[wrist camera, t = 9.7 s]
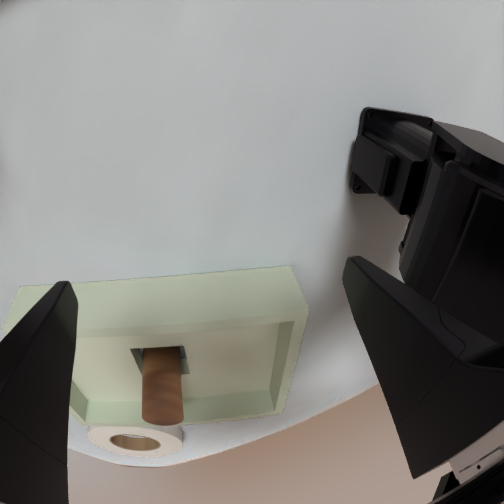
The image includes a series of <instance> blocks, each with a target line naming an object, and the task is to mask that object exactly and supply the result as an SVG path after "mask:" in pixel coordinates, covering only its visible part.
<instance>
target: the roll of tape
mask: <svg viewBox="0 0 504 504" xmlns="http://www.w3.org/2000/svg"><path fill="white" fill-rule="evenodd" d="M123 435H137V436H143V437H147V438H131V437H126V436H123ZM88 438H89V440H90V441H91V442H93V443H94V444H95V445H97V446H99V447H101V448H103V449H105V450H108V451H111V452H114V453H118V454H122V455H127V456H135V457H160V456H166V455H170V454H173V453H175V452H177V451H179V450H180V449H181V448H182V447H183V439H182V430H181V428H180V426H179V425H177V426H150V427H115V426H90V425H88Z"/></svg>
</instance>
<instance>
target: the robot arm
mask: <svg viewBox="0 0 504 504" xmlns="http://www.w3.org/2000/svg"><path fill="white" fill-rule="evenodd" d="M369 112H371V116H370V117H368V113H369ZM428 122H429V125H428ZM352 170H353V171H352V177H351V182H350V189H351V190H352V191H353V192H354V193H357V194H365V193H377V194H378V195H379V196H380V197H383V198H384V199H385V200H386V201H387V202H388V203H389V204H390V205H391V206H392V207H393V208H394V209H395V210H396V211H397V212H398V213H399V214H401V215H406V216H407V217H408V218H409V219H410V221H409V224H408V227H407V230H406V233H405V236H404V239H403V241H401V243H400V246H399V252H400V255H401V256H400V260H399V270H400V273H401V275H402V278H403V280H404V282H405V283H402V282H401V281H399V280H398V279H396V278H395V277H393V276H391V275H390V274H388V273H387V272H385V271H383V270H382V269H380V268H379V267H377V266H375V265H374V264H372V263H371V262H369V261H367V260H366V259H364V258H362V257H361V256H352V257H349V258H348V259H347V261H346V265H345V268H344V272H343V276H342V280H343V285H344V288H345V291H346V294H347V298H348V301H349V304H350V307H351V311H352V314H353V317H354V320H355V323H356V325H357V328H358V330H359V333H360V335H361V337H362V340H363V342H364V345H365V347H366V350H367V352H368V355H369V357H370V360H371V362H372V365H373V367H374V370H375V372H376V375H377V378H378V380H379V383H380V385H381V388H382V391H383V393H384V396H385V399H386V401H387V404H388V407H389V410H390V412H391V415H392V418H393V420H394V424H395V426H396V430H397V433H398V435H399V438H400V441H401V444H402V447H403V450H404V453H405V456H406V459H407V462H408V465H409V469H410V472H411V475H412V477H413V479H416V478H418V477H420V476H422V475H424V474H426V473H428V472H430V471H432V470H434V469H436V468H438V467H440V466H441V465H443V464H445V463H447V462H449V463H450V465H451V467H452V470H453V471H451V472H450V473H448V474H446V475H444V476H443V477H441V480H440V482H439V485H438V487H437V490H436V492H435V495H434V497H433V500H432V502H430V503H428V504H504V143H503V142H501V141H499V140H497V139H495V138H493V137H491V136H489V135H487V134H485V133H483V132H480V131H476V130H472V129H468V128H464V127H460V126H456V125H452V124H447V123H443V122H438V121H434V120H433V119H432V118H430V117H426V116H421V115H416V114H411V113H405V112H399V111H393V110H387V109H380V108H373V107H366V108H364V109H363V111H362V115H361V122H360V129H359V135H358V136H357V138H356V144H355V150H354V156H353V162H352ZM358 184H359V186H358V187H357V188H355V187H356V185H358ZM77 319H78V299H77V297H76V295H75V292H74V290H73V288H72V285H71V283H70V282H69V281H59V282H57V283H56V284H55V285H54V286H53V287H52V288H51V289H50V290H49V291H48V292H47V293H46V294H45V295H44V296H43V297H42V298H41V299H40V300H39V301H38V302H37V303H36V304H35V305H34V306H33V307H32V308H31V309H30V310H29V311H28V312H27V313H26V314H25V315H24V316H23V317H22V319H21V320H20V321H19V322H18V323H17V324H16V325H15V326H14V327H13V328H12V329H11V331H10V332H9V333H8V334H7V335H6V336H5V337H4V338H3V340H2V341H1V342H0V504H69V500H68V475H67V474H68V472H67V444H68V420H69V405H70V393H71V383H72V374H73V366H74V358H75V351H76V337H77Z"/></svg>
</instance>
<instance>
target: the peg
mask: <svg viewBox="0 0 504 504" xmlns="http://www.w3.org/2000/svg"><path fill="white" fill-rule="evenodd" d="M142 419H143V420H144V421H146V422H147V423H150V424H153V425H159V426H170V425H176V424H179V423H181V422H182V421H183V420H184V413H183V400H182V385H181V367H180V346H169V347H153V348H143V370H142Z"/></svg>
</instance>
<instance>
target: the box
mask: <svg viewBox="0 0 504 504" xmlns="http://www.w3.org/2000/svg"><path fill="white" fill-rule="evenodd" d="M54 285H55V284H53V285H38V286H21V287H20V288H19V290H18V292H17V294H16V296H15V299H14V301H13V303H12V306H11V308H10V310H9V313H8V315H7V318H6V320H5V323H4V325H3V328H2V330H3V331H4V333H5V334H6V335H7V334H8V333H9V332H10V331H11V329H12V328H13V327H14V326H15V325H16V324H17V323H18V322H19V321H20V320H21V319H22V317H23V316H24V315H25V314H26V313H27V312H28V311H29V310H30V309H31V308H32V307H33V306H34V305H35V304H36V303H37V302H38V301H39V300H40V299H41V298H42V297H43V296H44V295H45V294H46V293H47V292H48V291H49V290H50V289H51V288H52V287H53V286H54ZM71 285H72V288H73V290H74V292H75V295H76V297H77V299H78V319H77V337H76V351H75V358H74V366H73V374H72V383H71V393H70V405H69V413H70V414H71V415H72V416H73V417H74V418H75V419H76V420H77V421H78V422H79V423H80V424H81V425H90V426H115V427H150V426H159V425H153V424H150V423H147V422H146V421H144V420H143V419H142V370H143V360H142V358H141V355H140V353H139V350H138V348H153V347H169V346H183V345H184V349H185V353H186V357H187V358H185V359H180V367H181V385H182V400H183V413H184V420H183V421H182V422H181V423H179V424H176V425H170V426H177V425H192V424H205V423H216V422H225V421H234V420H242V419H249V418H256V417H263V416H269V415H275V414H281V413H283V410H284V406H285V403H286V399H287V395H288V392H289V388H290V385H291V381H292V377H293V374H294V370H295V366H296V362H297V358H298V354H299V350H300V346H301V342H302V338H303V334H304V330H305V326H306V322H307V318H308V313H309V307H308V305H307V302H306V300H305V298H304V295H303V293H302V290H301V288H300V286H299V283H298V281H297V279H296V276H295V274H294V271H293V269H292V267H291V265H289V266H279V267H268V268H257V269H246V270H235V271H224V272H212V273H200V274H189V275H176V276H164V277H151V278H138V279H125V280H112V281H98V282H83V283H71Z"/></svg>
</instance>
